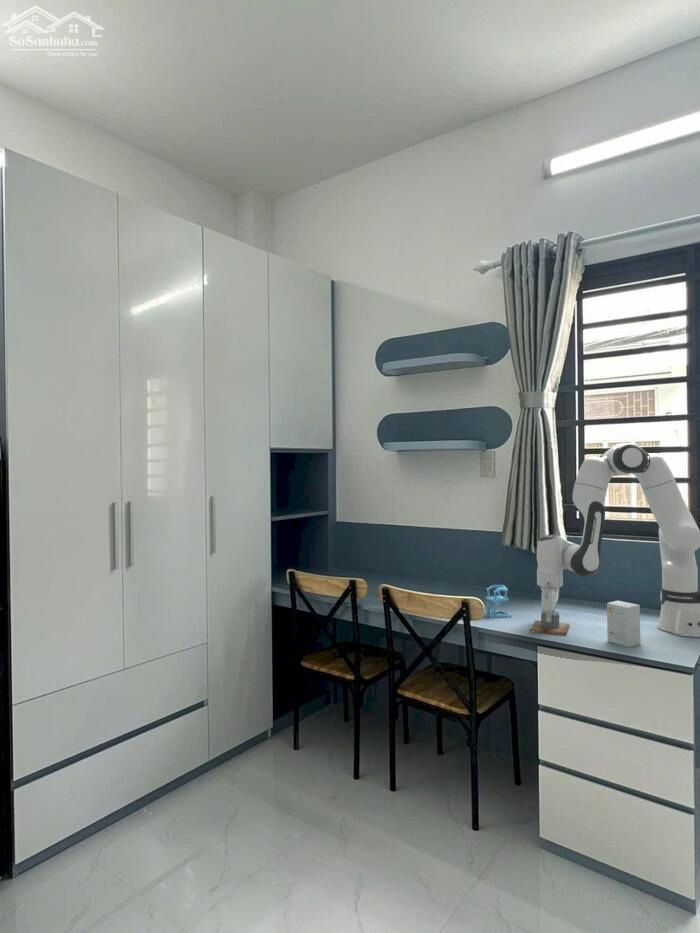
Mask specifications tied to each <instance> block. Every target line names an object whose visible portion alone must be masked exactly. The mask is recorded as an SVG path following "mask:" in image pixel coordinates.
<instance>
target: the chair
mask: <svg viewBox="0 0 700 933" xmlns="http://www.w3.org/2000/svg"><path fill="white" fill-rule="evenodd" d="M485 589H486V592H487V596H485V599H486V603H487V604H486V613H485V614H486V615H485V616H486V617H489V618H494V619H495V618H512V617H513V616H512V614H511V613H508V612H506V611H503V610H501V609H499V610H497V609H498V607H499V606H500V604H502V603H505V602H509V600H510V598H508V597H507V595H508V590H509V589H508V587H506V586H505V585H504V584H493V585H490V586H489V587H487V588H485ZM491 589H495V590H493V595H492V596H491V593H490V590H491ZM501 592H504V595H503V596H502V595H501ZM492 602H493V603H494V606H493V608H492ZM491 608H492V610H491Z"/></svg>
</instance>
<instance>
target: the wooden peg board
mask: <svg viewBox="0 0 700 933" xmlns="http://www.w3.org/2000/svg"><path fill="white" fill-rule="evenodd" d="M570 627H571V626H570V623H568V622H567V623H565V622H559V628H555V629H550V628H545V627H542V626H541V620H534V622H533V624H532V626H531V627H530V632H531V631H533V632H532V633H537V632H540V633H539V634H547V635H555V636H556V635H558V636H565V637H566V636H567V635H568V632H569V630H570V629H569V628H570Z"/></svg>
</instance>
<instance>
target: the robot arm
mask: <svg viewBox="0 0 700 933" xmlns="http://www.w3.org/2000/svg"><path fill="white" fill-rule="evenodd" d="M630 474H631V475H634V476H635V478H636V479H637V480H638V481H639V482H638V483H639V484H640V487H641V489H642V492H643V495H644V497H645V500H646V502H647V504H648V507H649V509H650V511H651V513H652V515H653V516H654V519H655V520H656V523H657V525H658V527H659V528H658V539H659V540H658V542H659V544H658V545H659V552H660V561H661V582H662V583H661V588H660V603H661V605H660V606H661V607H660V615H659V619H658V622H657V625H656V627H657V628H658V629H660V630H661V631H664V632H668V633H672V634H675V635H677V636H680V637H693V638H700V590H699V589H698V588H699V585H698V584H699V583H698V582H699V581H698V578H699V577H698V576H699V575H698V573H699V572H698V569H699V568H698V564H697V560H696V555H695V551H697V550H698V549H699V548H700V529H699V527H698V524H697V522H696V520H695V519H694V516H693V514H692V513H691V510H690V509H689V507H688V505H687V504H686V502H685V500H684V498H683V496H682V493H681V490H680V489H679V485H678V483H677V481H676V479H675V477H674V474H673V472H672V470H671V468H670V466H669V465H668V463H667V461H666V460H665V459H664V457H663V456H662V455H661V454H658V453H648V452H647V451H646V450H644V449H643V448H642V447H641V446H640V445H637V444H635V443H632V442H626V443H620V444H616V445H614V446H612V447H609V448H608V449H606V450H605V451H604V452H603V453H602V454H601V455H600V456H599V457H598V456H591V457H588V458H586V459H584V461H583V462H582V464H581V465H580V468H579V470H578V473H577V474H576V475H577V476H576V479H575V482H574V485H573V490H572V502H573V504H574V506H575V507H576V508H577V509H578V511H580V513H581V515H583V519H584V526H583V531H582V537H581V542H580V544H577V543H575V542H571V541H569V540H566V539H565V538H563V537H561V536H560V535H558V534H547V535H546V534H545V535H542V536H541V537H540V538H539V539H538V541H537V544H536V545H537V546H536V562H537V569H536V585H537V586H539V587H540V590H541V601H540V604H541V605H540V606H541V612H542V611H543V612H545V615H546V622H551V621H552V616H551V615H552V611H555V609H556V604H557V603H558V600H559V597H560V596H559V595H560V588H562V587H563V586H564V579H563V578H564V574H563V572H564V570H568V571H571V572H573V573H575V574H577V575H579V576H581V577H583V578H589V577H592V576H594V575H596V574H597V573H598V572H599V570H600V569H601V566H602V561H603V560H602V551H601V550H602V549H601V548H602V540H603V534H604V527H605V518H606V508H605V506H606V504H605V502H606V495H607V492H608V489H609V488H608V487H609V484H610V482H611V479H612V478H613V477H616V476H627V475H630Z"/></svg>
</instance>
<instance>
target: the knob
mask: <svg viewBox="0 0 700 933" xmlns="http://www.w3.org/2000/svg"><path fill="white" fill-rule="evenodd" d="M540 614H541V615H540V621H541V626H542V627H545V628H550V629H555V628H559V623H560V613H559V612H558V611H555V610H554V611H552V615H551V616H552V621H551V622H546V615H545V612H543V611H542V610H541V613H540Z"/></svg>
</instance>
